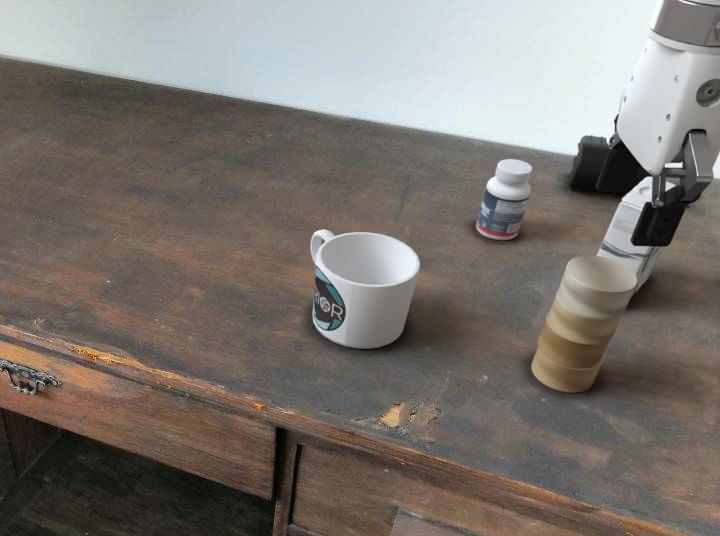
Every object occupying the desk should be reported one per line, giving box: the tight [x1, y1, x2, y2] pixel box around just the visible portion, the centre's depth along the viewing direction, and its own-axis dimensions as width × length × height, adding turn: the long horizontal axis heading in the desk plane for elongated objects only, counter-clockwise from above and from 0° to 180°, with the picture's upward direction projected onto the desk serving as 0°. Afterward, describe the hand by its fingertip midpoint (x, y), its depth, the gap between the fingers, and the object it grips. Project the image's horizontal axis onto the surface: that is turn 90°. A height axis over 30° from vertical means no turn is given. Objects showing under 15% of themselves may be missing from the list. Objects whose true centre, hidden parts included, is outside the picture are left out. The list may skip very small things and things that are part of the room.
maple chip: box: [547, 292, 624, 345], centre depth 73 cm, size 6×6×3 cm
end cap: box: [567, 134, 653, 198], centre depth 105 cm, size 10×7×7 cm
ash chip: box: [556, 255, 637, 319], centre depth 71 cm, size 6×6×3 cm
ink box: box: [596, 177, 677, 298], centre depth 86 cm, size 9×5×12 cm, turn 137°
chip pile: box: [530, 312, 610, 394], centre depth 76 cm, size 6×6×6 cm
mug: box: [309, 228, 421, 350], centre depth 83 cm, size 13×10×8 cm
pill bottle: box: [475, 158, 533, 241], centre depth 96 cm, size 5×5×9 cm
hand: (629, 216), depth 71 cm, fingers open, 9 cm apart
